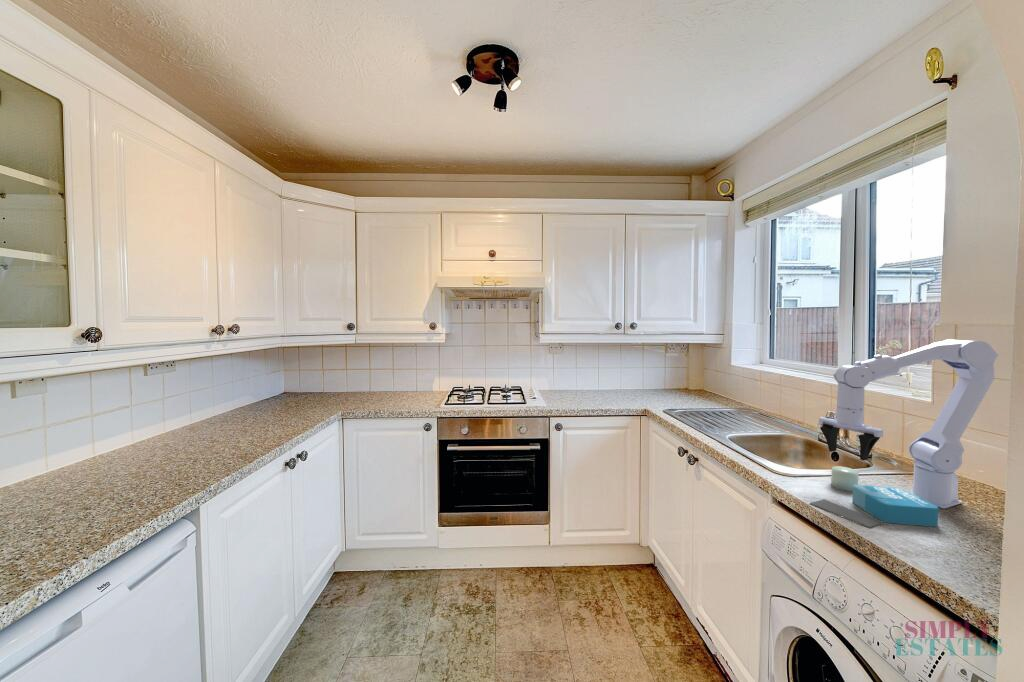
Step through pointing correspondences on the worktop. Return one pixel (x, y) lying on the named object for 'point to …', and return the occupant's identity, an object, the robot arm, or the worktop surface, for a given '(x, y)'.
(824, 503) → the rubber mat
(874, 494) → the data package
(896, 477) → the worktop surface
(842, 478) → the mint green soap bar
